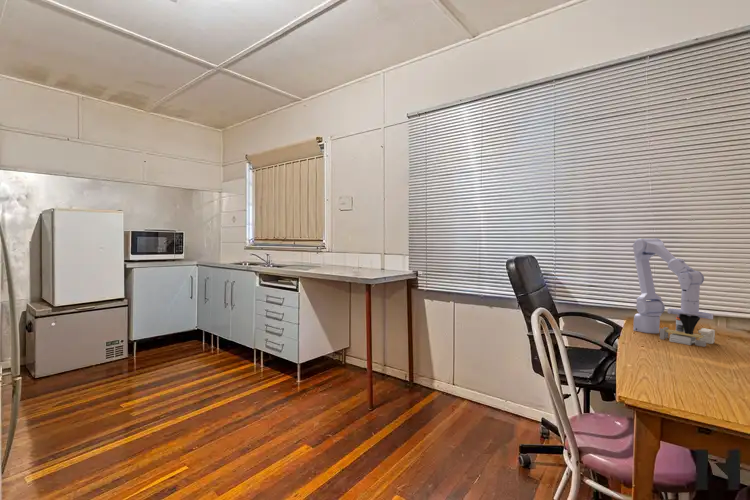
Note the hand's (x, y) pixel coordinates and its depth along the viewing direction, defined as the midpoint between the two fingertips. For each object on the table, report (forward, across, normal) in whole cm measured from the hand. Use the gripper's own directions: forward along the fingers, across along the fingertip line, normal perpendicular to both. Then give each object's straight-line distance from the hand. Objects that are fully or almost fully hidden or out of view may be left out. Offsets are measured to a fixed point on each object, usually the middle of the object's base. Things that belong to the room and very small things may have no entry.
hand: (688, 333), depth 158 cm
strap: (+1, -2, 0) cm, 2 cm away
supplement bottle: (+5, -7, +19) cm, 21 cm away
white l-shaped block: (+4, +4, +6) cm, 9 cm away
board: (+5, -2, +1) cm, 6 cm away
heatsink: (+4, -2, 0) cm, 4 cm away
